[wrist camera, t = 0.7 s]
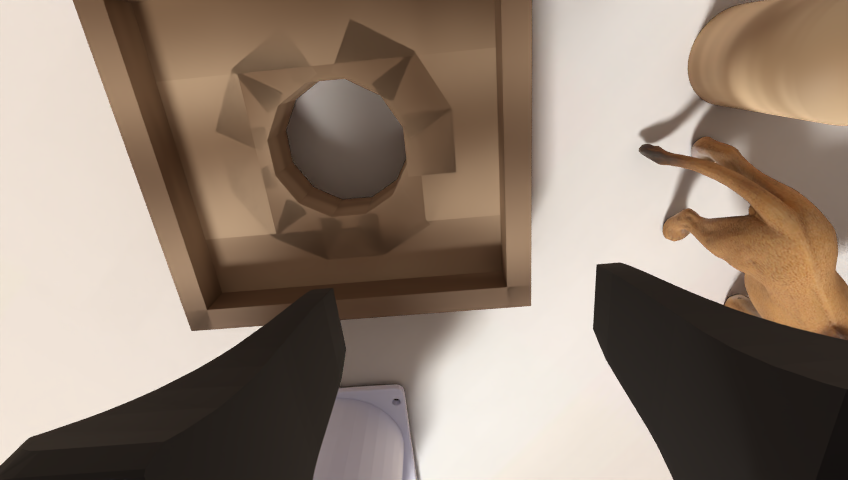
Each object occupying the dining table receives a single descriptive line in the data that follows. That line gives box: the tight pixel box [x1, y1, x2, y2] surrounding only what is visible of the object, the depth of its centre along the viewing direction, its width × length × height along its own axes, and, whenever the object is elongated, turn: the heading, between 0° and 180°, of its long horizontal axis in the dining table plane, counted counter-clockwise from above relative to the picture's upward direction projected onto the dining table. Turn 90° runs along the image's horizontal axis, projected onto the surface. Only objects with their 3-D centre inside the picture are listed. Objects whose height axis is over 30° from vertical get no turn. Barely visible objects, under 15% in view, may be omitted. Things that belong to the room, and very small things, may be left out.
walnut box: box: [73, 0, 532, 331], centre depth 18 cm, size 14×15×4 cm
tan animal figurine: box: [639, 136, 848, 340], centre depth 18 cm, size 15×5×9 cm, turn 50°
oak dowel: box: [688, 0, 848, 126], centre depth 16 cm, size 4×4×6 cm
